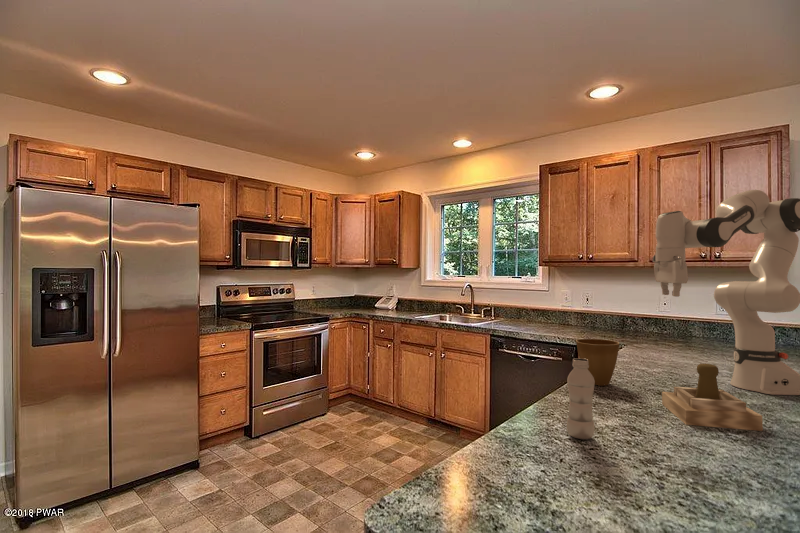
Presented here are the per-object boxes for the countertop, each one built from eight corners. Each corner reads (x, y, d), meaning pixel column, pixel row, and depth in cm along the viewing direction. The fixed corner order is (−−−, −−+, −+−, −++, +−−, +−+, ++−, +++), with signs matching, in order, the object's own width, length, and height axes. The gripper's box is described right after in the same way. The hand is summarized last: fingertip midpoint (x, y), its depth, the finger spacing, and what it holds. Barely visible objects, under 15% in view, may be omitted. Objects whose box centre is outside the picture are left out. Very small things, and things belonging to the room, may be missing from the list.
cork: (725, 405, 117) (725, 367, 117) (702, 404, 118) (702, 366, 118) (712, 398, 123) (712, 362, 123) (690, 398, 124) (690, 361, 124)
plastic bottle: (562, 433, 109) (561, 357, 109) (586, 432, 109) (586, 356, 109) (574, 443, 102) (574, 362, 102) (600, 442, 103) (600, 362, 103)
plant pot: (621, 381, 159) (620, 340, 159) (617, 391, 146) (617, 346, 146) (579, 376, 167) (579, 336, 167) (573, 384, 154) (572, 342, 154)
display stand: (727, 409, 127) (727, 388, 127) (762, 431, 110) (762, 406, 110) (662, 404, 132) (662, 383, 132) (685, 424, 114) (685, 401, 114)
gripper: (693, 255, 135) (693, 297, 135) (669, 257, 155) (669, 294, 155) (671, 255, 136) (671, 297, 136) (650, 257, 156) (651, 293, 156)
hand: (670, 295), depth 146 cm, fingers open, 8 cm apart
